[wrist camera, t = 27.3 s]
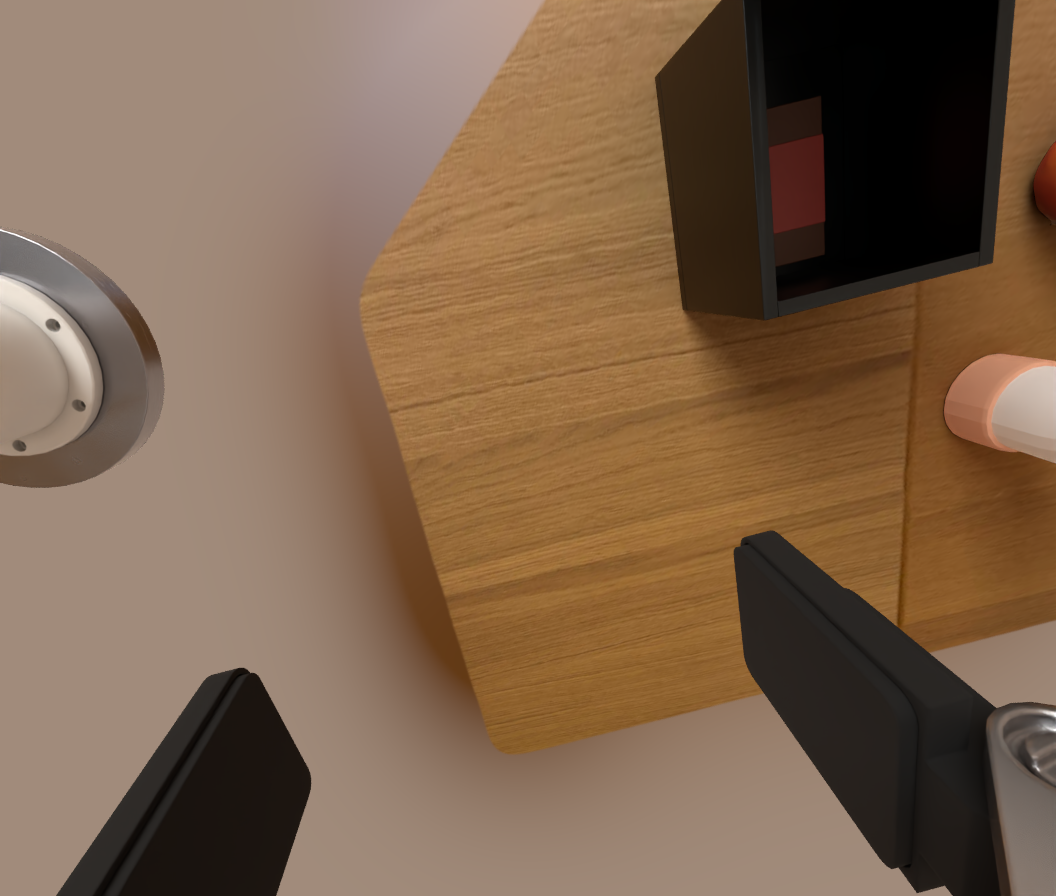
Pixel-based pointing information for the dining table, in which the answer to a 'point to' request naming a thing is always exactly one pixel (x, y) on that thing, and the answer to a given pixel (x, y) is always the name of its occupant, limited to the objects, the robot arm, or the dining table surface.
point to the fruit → (1046, 185)
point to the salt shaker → (1006, 404)
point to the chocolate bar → (797, 180)
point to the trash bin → (836, 145)
